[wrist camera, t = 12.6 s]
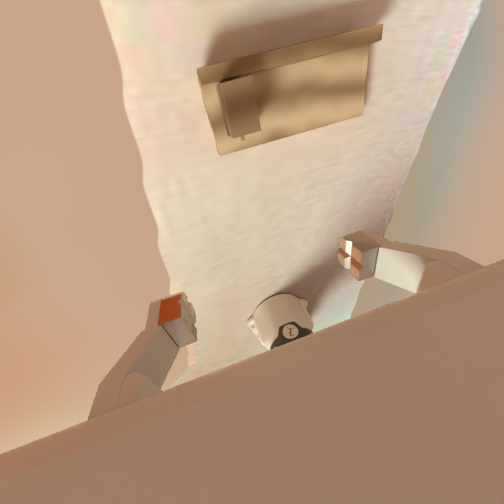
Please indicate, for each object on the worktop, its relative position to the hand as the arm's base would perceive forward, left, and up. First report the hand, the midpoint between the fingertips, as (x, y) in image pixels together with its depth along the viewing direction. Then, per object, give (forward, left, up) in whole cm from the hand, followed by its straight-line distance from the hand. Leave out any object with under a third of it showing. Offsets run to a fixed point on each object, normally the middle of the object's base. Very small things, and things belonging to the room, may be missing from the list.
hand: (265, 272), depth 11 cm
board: (+6, -15, -31) cm, 35 cm away
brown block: (+6, -6, -29) cm, 30 cm away
